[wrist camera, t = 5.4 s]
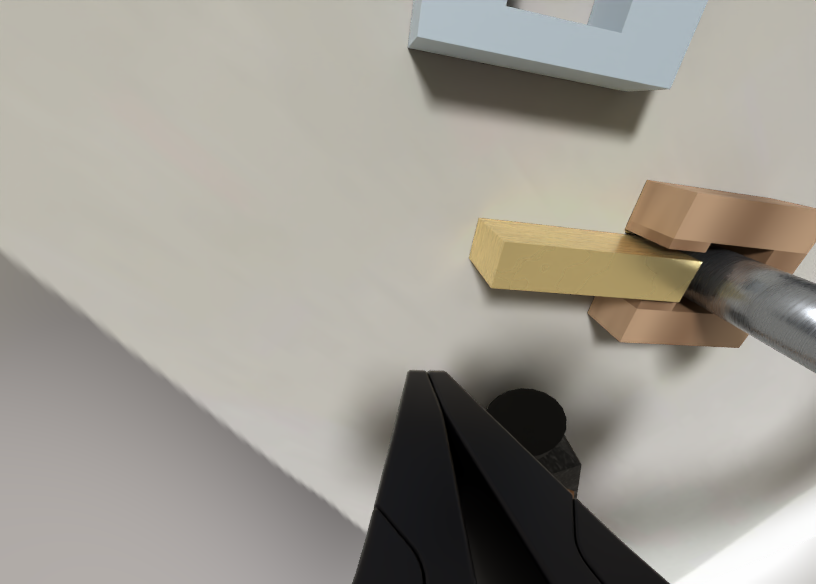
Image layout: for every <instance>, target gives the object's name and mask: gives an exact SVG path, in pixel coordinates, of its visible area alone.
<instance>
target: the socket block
mask: <svg viewBox="0 0 816 584" xmlns="http://www.w3.org/2000/svg"><path fill="white" fill-rule="evenodd" d="M625 229H626V230H629V231H631V232H633V233H635V234H637V235H640V236H642V237H644V238H646V239H648V240H651V241H653V242H655V243H657V244H659V245H661V246H664V247H666V248H668V249H676V250H685V251H694V252H703V253H706V251H707V249H708V247H709V246H710V244H711V243H712V244H715V245H717V246H720V247H722V248H725V249H728V250H730V251H733V252H735V253H738V254H741V255H743V256H746V257H748V258H751V259H753V260H756V261H759V262H761V263H764V264H766V265H769V266H772V267H774V268H777V269H779V270H782V271H784V272H787V273H790V274H793V273H794V271H795V270H796V269H797V267H798V266H799V264H800V263H801V262H802V260H803V259H804V258H805V256H806V255H807V253H808V252H809V251H810V249H811V248H812V246H813V245H814V244H815V242H816V208H812V207H807V206H803V205H798V204H794V203H789V202H785V201H780V200H776V199H771V198H765V197H758V196H751V195H745V194H738V193H731V192H724V191H718V190H711V189H704V188H698V187H691V186H684V185H677V184H671V183H664V182H657V181H650V180H647V181H646V184H645V186H644V188H643V190H642V193H641V195H640V197H639V199H638V201H637V204H636V206H635V208H634V210H633V213H632V215H631V217H630V219H629V221H628V224H627V226H626V228H625ZM588 314H589V315H590V316H591V317H592V318H593V319H595V320H596V321H597V322H598V323H599V324H600V325H601V326H602V327H603V328H605V329H606V330H607V331H608V332H609V333H610V334H611V335H612V336H614V337H615V338H616V339H617V340H618V341H619V342H628V343H649V344H669V345H690V346H711V347H731V348H739V347H740V346H741V344H742V343H743V342H744V340H745V339H746V338H747V336H748V335H749V334H748V333H746V332H744V331H742V330H741V329H739V328H737V327H736V326H734V325H732V324H730V323H729V322H727V321H725V320H724V319H722V318H720V317H718V316H717V315H715V314H713V313H712V312H710V311H708V310H706V309H705V308H703V307H701V306H700V305H698V304H696V303H694V302H693V301H691V300H689V299H688V298H686V297H684V296H682V298H681V300H680V302H670V301H656V300H643V299H630V298H616V297H603V296H595V297H594V299H593V302H592V304H591V306H590V308H589V311H588Z"/></svg>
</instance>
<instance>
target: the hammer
mask: <svg viewBox="0 0 816 584" xmlns="http://www.w3.org/2000/svg"><path fill="white" fill-rule="evenodd" d="M487 412H488V413H489V414H490V415H491V416H492V417H493V418H494V419H495V420H496V421H497V422H498V423H499V424H500V425H501V426H502V427H503V428H505V429H506V430H507V431H508V432H509V433H510V434H511V435H512V436H513V437H514V438H515V439H516V440H517V441H518V442H519V443H520V444H521V445H522V446H523V447H524V448H525V449H526V450H527V451H528V452H529V453H530V454H531V455H532V456H533V457H534V458H535V459H536V460H538V461H539V462H540V463H541V464H542V465H543V466H544V467H545V468H546V469H547V470H548V471H549V472H550V473H551V474H552V475H553V476H554V477H555V478H556V479H557V480H558V481H559V482H560V483H561V484H562V485H563V486H564V487H565V488H566V489H567V490H568V491H569V492H571V493H572V495H573V499H574V498H576V499H577V492H578V485H579V477H580V470H581V463H580V462H579V460H578V458H577V456H576V455H575V453H574V451H573V449H572V448H571V446H570V444H569V442H568V441H567V439H566V437H565V435H564V433H565V431H566V416H565V413H564V411H563V408H562V407H561V406H560V405H559V403H558V402H557V401H556V400H555V399H554V398H552V397H551V396H549V395H548V394H546V393H544V392H541V391H537V390H534V389H517V390H511V391H508V392H506V393H504V394H502V395H500V396H498V397H497V398H496V399H495V400H494V401H493V402H492V403H491V404H490V405H489V407H488V409H487Z"/></svg>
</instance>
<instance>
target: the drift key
mask: <svg viewBox="0 0 816 584" xmlns="http://www.w3.org/2000/svg"><path fill="white" fill-rule="evenodd" d="M469 259H470V260H471V261H472V263H473V264H474V265H475V267H476V268H477V270H478V271H479V272H480V274H481V275H482V276H483V278H484V279H485V280H486V282H487V283H488V284H489V286H490V287H491V288H497V289H510V290H523V291H536V292H550V293H563V294H576V295H590V296H603V297H616V298H630V299H643V300H656V301H670V302H680V300H681V298H682V296H683V295H684V293H685V291H686V290H687V288H688V286H689V284H690V283H691V281H692V279H693V277H694V276H695V274H696V272H697V271H698V269H699V267H700V265H701V264H702V261H700V260H698V259H696V258H693V257H691V256H689V255H687V254H685V253H682V252H680V251H678V250H676V249H668V248H666V247H664V246H661V245H659V244H657V243H655V242H653V241H651V240H648V239H646V238H644V237H642V236H635V235H626V234H617V233H608V232H599V231H591V230H582V229H573V228H564V227H556V226H547V225H538V224H529V223H520V222H512V221H503V220H494V219H485V218H479V219H478V223H477V227H476V231H475V235H474V239H473V244H472V248H471V252H470V256H469Z"/></svg>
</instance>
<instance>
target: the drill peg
mask: <svg viewBox="0 0 816 584" xmlns="http://www.w3.org/2000/svg"><path fill="white" fill-rule="evenodd" d="M678 251H680V252H682V253H685V254H687V255H689V256H691V257H693V258H696V259H698V260H700V261H702V264H701V265H700V267H699V269H698V271H697V272H696V274H695V276H694V277H693V279H692V281H691V283H690V284H689V286H688V288H687V290H686V291H685V293H684V295H683V296H684V297H686V298H688V299H689V300H691V301H693V302H694V303H696V304H698V305H700V306H701V307H703V308H705V309H706V310H708V311H710V312H712V313H713V314H715V315H717V316H718V317H720V318H722V319H724V320H725V321H727V322H729V323H730V324H732V325H734V326H736V327H737V328H739V329H741V330H742V331H744V332H746V333H748V334H749V335H751V336H753V337H754V338H756V339H758V340H760V341H761V342H763V343H765V344H766V345H768V346H770V347H772V348H773V349H775V350H777V351H778V352H780V353H782V354H784V355H785V356H787V357H789V358H790V359H792V360H794V361H796V362H797V363H799V364H801V365H803V366H804V367H806V368H808V369H809V370H811V371H813V372H815V373H816V284H815V283H813V282H810V281H808V280H805V279H803V278H800V277H797V276H795V275H792V274H790V273H787V272H784V271H782V270H779V269H777V268H774V267H772V266H769V265H766V264H764V263H761V262H759V261H756V260H753V259H751V258H748V257H746V256H743V255H741V254H738V253H735V252H733V251H730V250H728V249H725V248H722V247H720V246H717V245H715V244H712V243H711V244H710V246H709V247H708V249H707V251H706V253H703V252H694V251H685V250H678Z"/></svg>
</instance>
